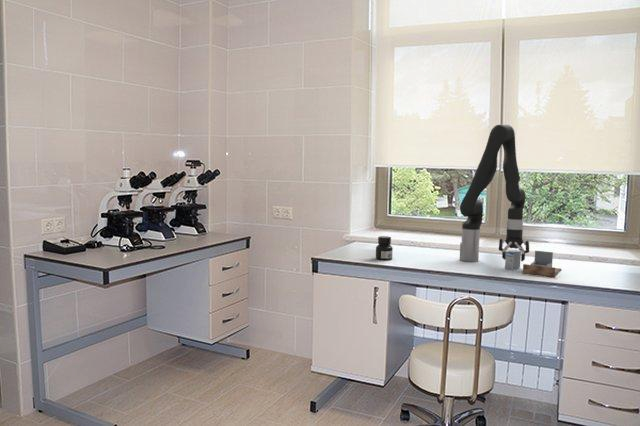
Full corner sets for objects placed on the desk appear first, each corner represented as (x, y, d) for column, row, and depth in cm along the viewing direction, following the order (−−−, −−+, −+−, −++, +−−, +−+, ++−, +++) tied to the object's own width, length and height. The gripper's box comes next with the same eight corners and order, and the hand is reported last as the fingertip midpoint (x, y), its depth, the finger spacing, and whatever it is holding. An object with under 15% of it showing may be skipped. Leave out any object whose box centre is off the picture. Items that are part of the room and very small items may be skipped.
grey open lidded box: (529, 272, 252) (530, 253, 251) (534, 268, 262) (535, 250, 261) (547, 274, 247) (549, 255, 247) (551, 270, 258) (552, 252, 257)
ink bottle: (383, 261, 278) (384, 238, 276) (371, 258, 284) (372, 236, 283) (396, 259, 284) (396, 237, 283) (383, 257, 291) (384, 235, 289)
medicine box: (511, 266, 270) (512, 249, 269) (520, 268, 267) (521, 251, 266) (504, 268, 264) (505, 251, 263) (513, 270, 261) (514, 252, 260)
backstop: (522, 273, 252) (523, 264, 252) (531, 266, 272) (532, 257, 271) (554, 277, 245) (554, 268, 244) (561, 269, 264) (561, 260, 264)
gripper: (498, 227, 264) (496, 259, 265) (528, 229, 256) (526, 262, 258) (501, 226, 270) (500, 257, 272) (531, 228, 263) (529, 260, 264)
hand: (513, 260), depth 265 cm, fingers open, 8 cm apart
